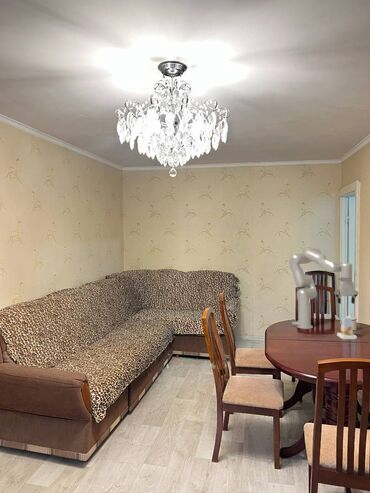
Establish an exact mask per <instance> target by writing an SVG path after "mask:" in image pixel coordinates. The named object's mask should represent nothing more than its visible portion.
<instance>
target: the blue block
mask: <svg viewBox="0 0 370 493" xmlns="http://www.w3.org/2000/svg"><path fill="white" fill-rule="evenodd" d="M341 320H342V321H341V323H342V326H344V327H352V319H351V318H349V317H347V316H342V317H341Z"/></svg>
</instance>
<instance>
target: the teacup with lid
mask: <svg viewBox="0 0 370 493" xmlns="http://www.w3.org/2000/svg"><path fill="white" fill-rule="evenodd" d="M346 317H349V318H351V319H352V327H353V330H355V331H356V330H357V317H355V316H353V315H352V314H349V315H347V316H346ZM339 323H340V326H341V325H342V319H341V320H340V321H339Z"/></svg>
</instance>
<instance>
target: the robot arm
mask: <svg viewBox="0 0 370 493" xmlns="http://www.w3.org/2000/svg"><path fill="white" fill-rule="evenodd" d="M312 262H313V263H315V264H317V265H318V266H319V267H320V268H321V269H322V270H324V271H326V272H329V273H332V274H333V273H334V274H335V273H340V278H338V281H339V283H338V284H339V285H338V289H337V290H335V291H334V292H333V294H334V296H335V297H336V298H337V303H338V304H339V305H341V303H342V300H341V297H351V300H350V301H351V304H353V305H355V300H356V298H357V297H358V295H359V293H360V292H359V291H357V290H355V283H354V282H353V264H352V263H350V262H341V261H333V262H331V261H330V260H327V258H326V255H325V254H324V253H322V250H320V249H319V248H307V249H306V250H304V252H303V253H294V254H293V255H291V256H290V258H289V261H288V263H289V267H290V270H291V272H292V275H293V279H294V282H295V285H296V286H297V288H298V287H299V288H300V289H298V290H297V292H296V297H297V298H296V299H297V311H298V314H297V315H298V316H297V317H298V318H297V319H298V320H297V321H292V322H291V323H292V324H291V325H295V326H296V327H297V328H298V329H302V330H303V329H304V330H305V329H306V330H309V329H313V328H314V327H313V326H314V325H312V324H311V320H312V319H311V318H312V316H311V315H312V314H311V310H312V309H311V307H312V306H311V302H310V300H313V299H315V298H316V297H317V295H318V292H317V288H316V284H315V281H314V279H313V277H312V276H311V275H309V274H305V273H304V270H303V268H302V267H301V265H305V264H309V263H312Z"/></svg>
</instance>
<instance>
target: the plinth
mask: <svg viewBox="0 0 370 493" xmlns="http://www.w3.org/2000/svg"><path fill="white" fill-rule="evenodd" d="M336 336H337V337H339V338H340V339H341V340H357V339H358V336H357V335H356V334H354V333H353V335H348V336H344V335H343V334H341V332H336Z"/></svg>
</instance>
